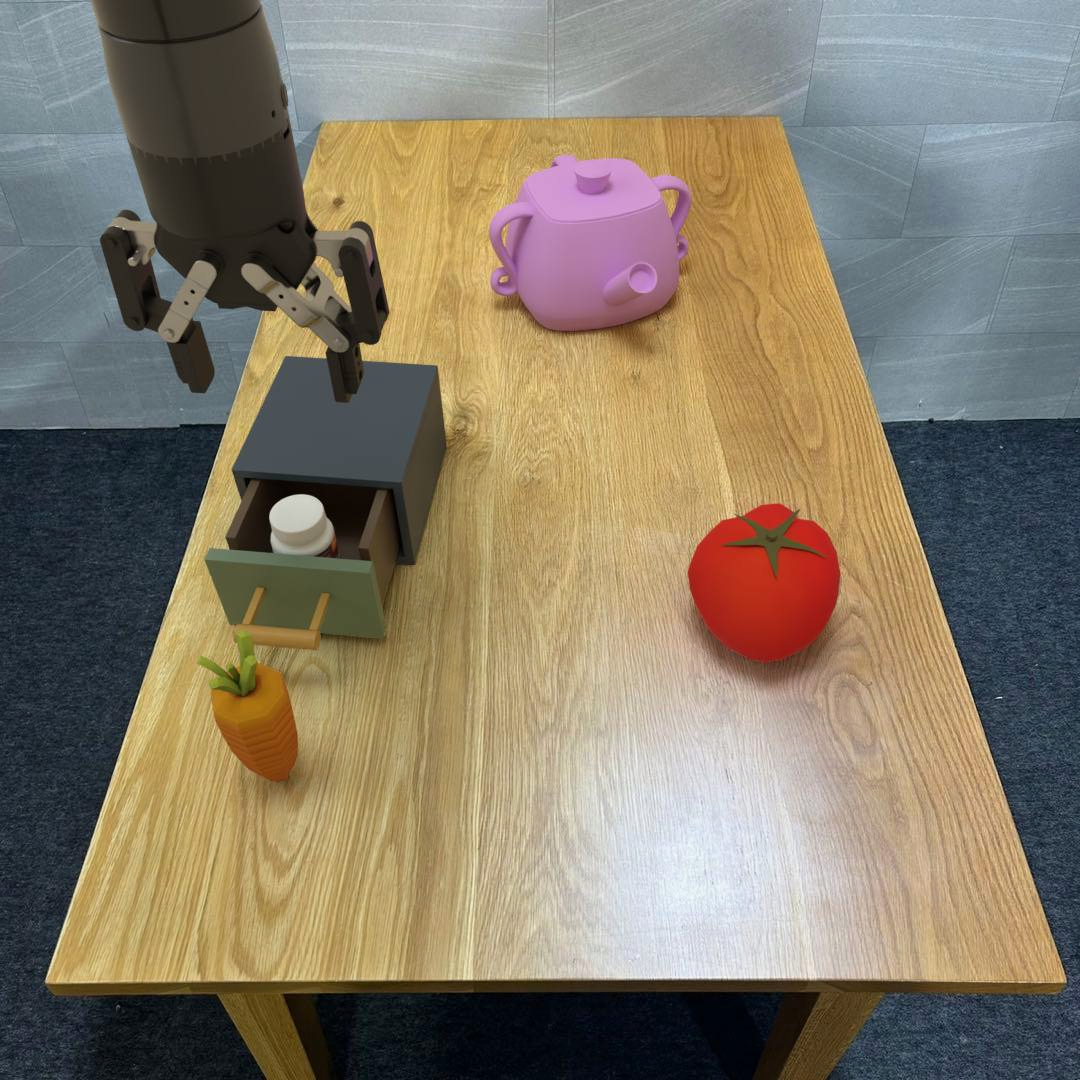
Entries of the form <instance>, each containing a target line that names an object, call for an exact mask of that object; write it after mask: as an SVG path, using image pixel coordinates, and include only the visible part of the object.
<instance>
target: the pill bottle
mask: <svg viewBox="0 0 1080 1080" xmlns="http://www.w3.org/2000/svg"><path fill="white" fill-rule="evenodd" d="M269 519H270V524H271V528H272V533H271V540H270V541H271V545H272V549H273V552H274V553H277V554H289V555H302V556H314V557H326V558H338V559H341V557H340V552H339V548H338V544H337V540H336V536H335V531H334V527H333V525H332V523H331V522H330V520H329V519H328V518H327V517H326V514H325V511H324V508H323V505H322V503H321V502H320V501H319V500H318V499H317V498H315V497H313V496H310V495H303V494H300V495H292V496H289V497H286V498H284V499H282V500H280V501H279V502H278V503H276V504H275V505H274V507H273V508H272V510H271V511H270V516H269Z"/></svg>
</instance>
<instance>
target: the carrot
mask: <svg viewBox="0 0 1080 1080" xmlns="http://www.w3.org/2000/svg"><path fill="white" fill-rule="evenodd" d="M236 638H237V643H236V644H237V647H238V653H239V666H235V665H234V664H233V662H229V663H227V664H226V665H225V668H222V667H221V666H220V665H219V664H218V663H216V662H215V661H213V660H211V659H209V658H207V657H205V656H203V655H199V657H198V658H197V664H198V665H199V666H201V667H203V668H204V669H207V670H209V671H211V672H212V673H214V675H217V677H213V678H211V679H209V680H208V686H209V688H210V696H211V704H212V710H213V718H214V721H215V724H216V725H217V727H218V729H219V732H220V734H221V736H222V737H223V739H224V740H225V742H226V745H227V746H228V748H229V750H230V751H231V752H232V754H233V755H234V756H235V757H236V759H238V761H239V762H240V763H241V764H243V765H244V766H245V767H246V769H248V771H250V772H252V773H254V774H256V775H257V776H259V777H261V778H264V779H266V780H268V781H270V782H271V783H272V782H273V783H281V782H285V781H286V780H287V778H288V777H289V776H290V774H291V772H292V771H293V770H294V767H295V766H296V763H297V759H298V756H299V738H298V737H299V736H298V728H297V724H296V719H295V715H294V710H293V706H292V701H291V698H290V694H289V693H290V692H289V690H288V687H287V683H286V680H285V677H284V674H282V673H281V672H280V671H279V670H277V669H274V668H272V667H270V666H268V665H265V664H262V663H260V662H259V661H258V659H257V657H256V656H255V655H256V654H255V648H254V645H253V642H252V637H251V635H250V633H249V632H244V631H240V632H238V633H236ZM225 669H226V670H225Z"/></svg>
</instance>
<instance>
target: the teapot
mask: <svg viewBox="0 0 1080 1080" xmlns="http://www.w3.org/2000/svg"><path fill="white" fill-rule="evenodd" d="M667 190H668V191H669V190H672V191H676V192H677V193H678V197H677V201H676V204H675V207H674V210H673V211H672V214H671V215H670V214H669V211H668V208H667V207H668V206H667V205H666V202H665V200H664V198H663V195H662V193H661V192H663V191H667ZM692 200H693V199H692V192H691V189H690V187H689V185H688V184H686V182H684V181H683V180H682V179H680V178H679V177H677V176H674V175H670V174H661V175H657V176H653V177H651V178H650V177H649V176H648V174H647V173H646V172H645V171H644V170H643V169H642V168H641V167H640V166H638V164H637V163H635V162H634V161H632V160H630V159H626V158H616V157H614V158H597V159H596V158H595V159H585V160H580V161H579V160H578V159H577V157H576V156H574V155H572V154H561V155H558V156H556V157H554V159H552V161H551V163H550V167H548V168H545V169H542V170H539V171H536V172H534V173H532V174H530V175H529V176H528V177H526V178H525V179H524V181H523V183H522V185H521V186H520V190H519V192H518V195H517V197H516V200H515V202H512V203H510V204H507V205H504V206H503V207H501V209H500V210H498V211H497V212H496V213H495V214H494V216H493V217H492V218H491V221H490V222H489V228H488V236H489V240H490V244H491V247H492V249H493V251H494V253H495V255H496V257H497V258H498V260H499V262H500V264H501V265H502V266H501V267H497V268H495V269H494V270H493V271H492V272H491V274H490V278H489V279H490V280H489V284H490V287H491V290H492V291H493V292H494V293H495V294H496V295H499V296H502V297H511V296H514V295H516V294H517V295H518V297H519V298H520V300H521V302H522V303H523V304H524V306H525V307H526V308H527V311H528V312H529V313H530V314H531V316H533V318H534V320H536V321H537V323H538V324H540V325H541V326H542V327H544V328H546V329H548V330H552V331H557V332H558V331H559V332H576V331H577V332H579V331H588V330H589V331H590V330H598V329H606V328H610V327H615V326H620V325H624V324H627V323H630V322H634V321H637V320H639V319H642V318H646V317H647V316H650V315H652V314H654V313H656V312H659V311H660V310H661V309H663V308H664V307H665V306H666V305H667V303H668V302H669V301H670V300H671V298H672V296H673V295H674V294H675V292H676V291H677V288H678V285H679V283H680V262H681V261H682V260H683V259H685V258H686V257H687V255H688V254H689V248H690V247H689V246H690V245H689V241H688V238H687V237H686V236H685V235H684V234H682V233H681V231H682V229H683V227H684V225H685V223H686V221H687V219H688V217H689V213H690V211H691V207H692ZM507 225H508V226H507ZM506 226H507V231H506V239H505V240H506V241H505V244H504V240H503V237H502V236H503V235H502V232H503V230H504V229H505V227H506ZM503 277H508V279H507V280H506V281H503V282H501V281H500V280H501V279H502V278H503Z"/></svg>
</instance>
